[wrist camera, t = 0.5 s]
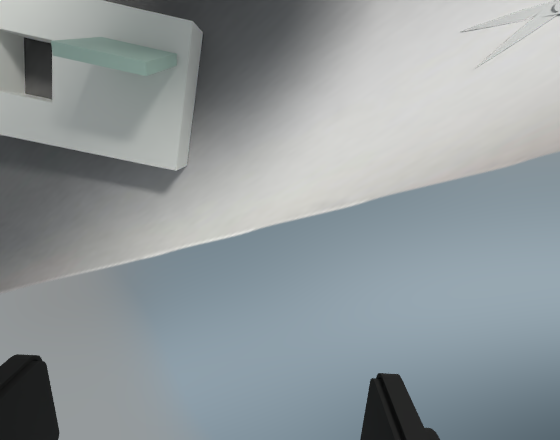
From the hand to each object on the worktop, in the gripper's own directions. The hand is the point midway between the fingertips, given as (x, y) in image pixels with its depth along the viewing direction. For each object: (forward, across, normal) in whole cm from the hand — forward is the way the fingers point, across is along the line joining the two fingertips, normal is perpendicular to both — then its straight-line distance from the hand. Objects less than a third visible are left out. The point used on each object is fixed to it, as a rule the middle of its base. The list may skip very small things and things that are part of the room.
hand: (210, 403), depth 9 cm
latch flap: (+23, +12, -12) cm, 29 cm away
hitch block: (+30, +18, -11) cm, 37 cm away
